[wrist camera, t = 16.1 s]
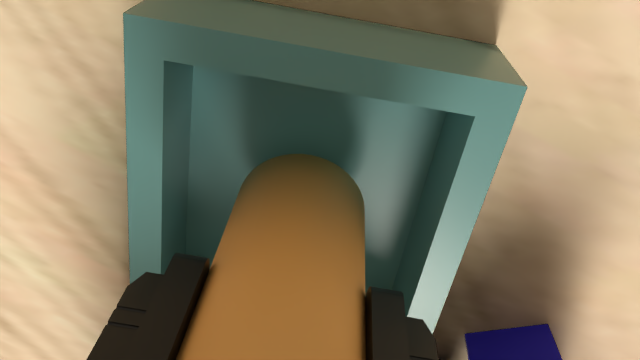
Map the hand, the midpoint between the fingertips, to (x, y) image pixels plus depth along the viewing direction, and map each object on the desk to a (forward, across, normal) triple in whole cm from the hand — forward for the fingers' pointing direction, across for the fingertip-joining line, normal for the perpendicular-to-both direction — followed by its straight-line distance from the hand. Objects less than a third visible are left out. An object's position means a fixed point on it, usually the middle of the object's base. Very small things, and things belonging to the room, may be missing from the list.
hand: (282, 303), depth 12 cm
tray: (+6, 0, 0) cm, 6 cm away
